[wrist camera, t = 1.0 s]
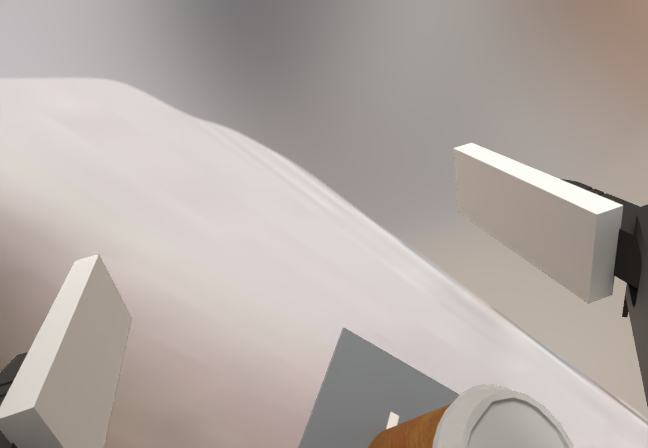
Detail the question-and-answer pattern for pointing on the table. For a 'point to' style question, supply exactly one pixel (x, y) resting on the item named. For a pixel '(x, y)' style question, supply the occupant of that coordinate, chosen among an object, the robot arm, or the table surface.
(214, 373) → the table surface
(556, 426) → the disposable coffee cup
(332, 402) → the tile
